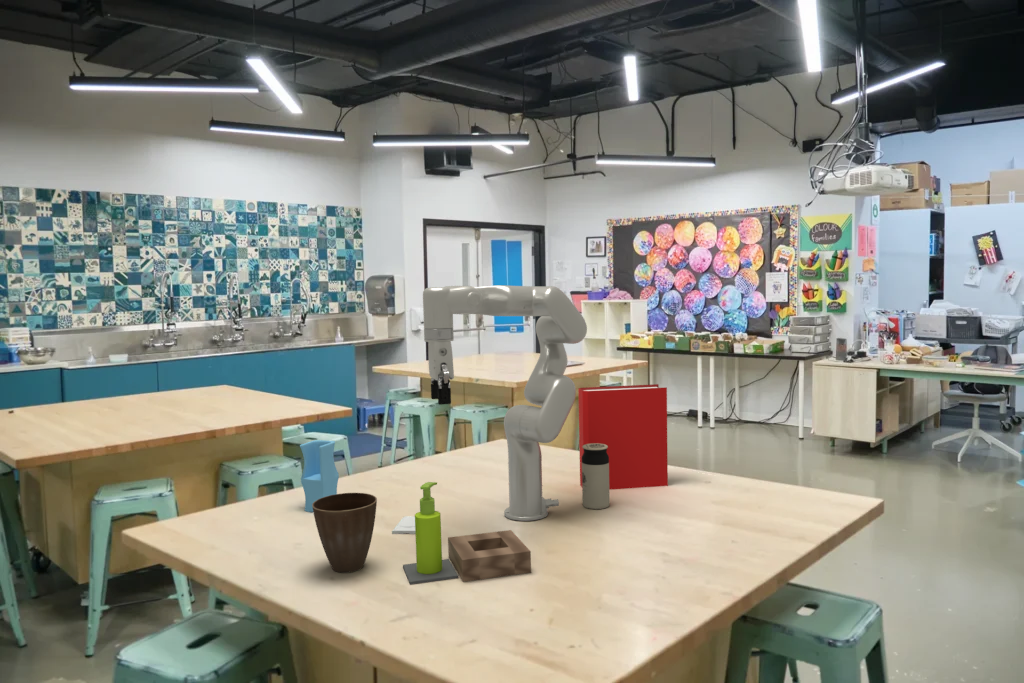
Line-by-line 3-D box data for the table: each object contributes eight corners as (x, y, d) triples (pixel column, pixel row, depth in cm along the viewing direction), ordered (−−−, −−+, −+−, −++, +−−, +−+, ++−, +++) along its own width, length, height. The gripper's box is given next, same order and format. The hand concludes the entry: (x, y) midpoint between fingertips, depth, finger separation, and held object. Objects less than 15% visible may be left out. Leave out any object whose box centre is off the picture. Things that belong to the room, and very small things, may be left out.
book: (659, 479, 253) (658, 384, 250) (667, 485, 245) (666, 387, 242) (579, 484, 249) (577, 387, 246) (585, 491, 241) (583, 391, 238)
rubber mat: (448, 561, 182) (448, 558, 182) (458, 577, 172) (458, 575, 172) (402, 567, 179) (402, 564, 179) (410, 584, 169) (409, 581, 169)
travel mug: (609, 501, 228) (608, 442, 227) (610, 509, 220) (609, 448, 219) (582, 501, 229) (581, 443, 228) (582, 509, 221) (581, 448, 220)
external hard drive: (431, 521, 215) (421, 536, 203) (403, 521, 216) (391, 536, 204) (431, 516, 215) (421, 530, 203) (403, 516, 216) (391, 530, 204)
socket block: (511, 549, 189) (511, 530, 189) (531, 572, 174) (530, 551, 174) (448, 557, 185) (447, 537, 185) (462, 581, 170) (462, 559, 169)
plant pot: (348, 584, 170) (345, 514, 169) (301, 572, 178) (298, 505, 177) (392, 562, 183) (389, 497, 181) (347, 552, 190) (344, 489, 189)
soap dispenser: (448, 564, 179) (445, 481, 177) (435, 575, 172) (432, 488, 171) (425, 562, 181) (422, 479, 179) (412, 572, 174) (409, 487, 173)
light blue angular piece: (302, 511, 227) (299, 445, 225) (318, 503, 234) (315, 439, 233) (324, 513, 224) (321, 446, 222) (339, 506, 231) (337, 441, 230)
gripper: (460, 336, 188) (462, 405, 189) (446, 332, 204) (448, 395, 206) (430, 338, 186) (432, 407, 187) (418, 334, 202) (420, 397, 203)
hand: (440, 401), depth 196 cm, fingers open, 9 cm apart
